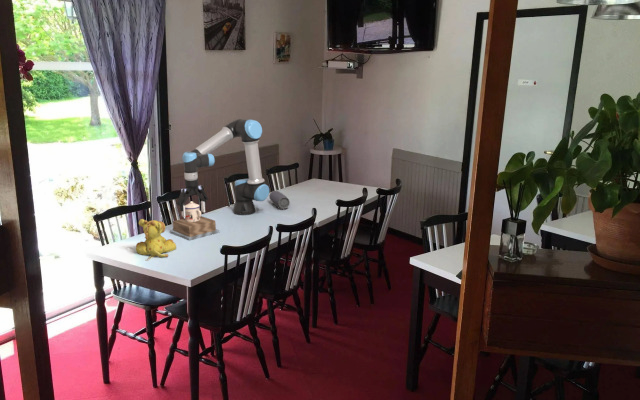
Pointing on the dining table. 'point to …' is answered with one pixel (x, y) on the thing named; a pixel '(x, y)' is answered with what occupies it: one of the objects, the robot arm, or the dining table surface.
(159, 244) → the giraffe plush
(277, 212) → the dining table surface
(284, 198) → the bluetooth speaker
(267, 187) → the robot arm
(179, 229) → the plinth
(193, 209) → the teacup with lid
